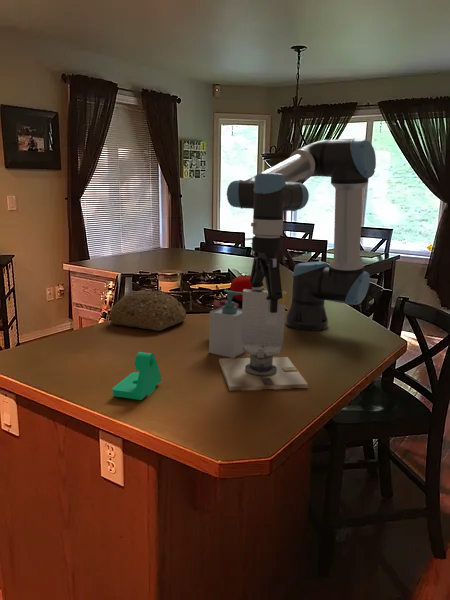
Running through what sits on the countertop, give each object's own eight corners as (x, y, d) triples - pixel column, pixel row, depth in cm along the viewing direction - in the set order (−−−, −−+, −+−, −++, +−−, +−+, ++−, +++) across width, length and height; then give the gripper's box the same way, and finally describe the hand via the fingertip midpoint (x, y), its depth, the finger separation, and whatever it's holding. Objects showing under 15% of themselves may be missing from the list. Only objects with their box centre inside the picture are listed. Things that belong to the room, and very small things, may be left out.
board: (287, 360, 146) (287, 356, 146) (307, 388, 127) (307, 382, 127) (219, 362, 144) (219, 357, 143) (229, 390, 124) (229, 385, 124)
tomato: (261, 305, 213) (263, 277, 210) (229, 304, 213) (230, 277, 210) (260, 298, 225) (261, 272, 222) (229, 297, 225) (230, 271, 222)
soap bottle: (233, 358, 147) (235, 295, 143) (208, 352, 152) (209, 291, 147) (248, 351, 154) (250, 290, 150) (223, 345, 159) (225, 286, 154)
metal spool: (272, 364, 140) (273, 345, 139) (279, 375, 132) (280, 356, 130) (242, 365, 139) (243, 346, 137) (248, 376, 131) (249, 356, 129)
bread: (103, 326, 176) (102, 293, 173) (136, 312, 195) (135, 282, 193) (164, 336, 167) (164, 301, 165) (192, 320, 187) (192, 289, 184)
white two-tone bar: (243, 341, 141) (245, 285, 137) (283, 343, 140) (286, 287, 136) (238, 356, 128) (241, 295, 124) (282, 359, 127) (286, 298, 123)
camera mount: (133, 381, 129) (132, 343, 127) (161, 384, 127) (161, 346, 125) (111, 399, 118) (110, 358, 116) (141, 404, 116) (140, 362, 114)
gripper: (240, 230, 138) (238, 305, 143) (267, 242, 114) (264, 331, 119) (266, 231, 140) (263, 305, 145) (299, 242, 116) (293, 330, 121)
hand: (263, 317), depth 132 cm, fingers open, 13 cm apart
